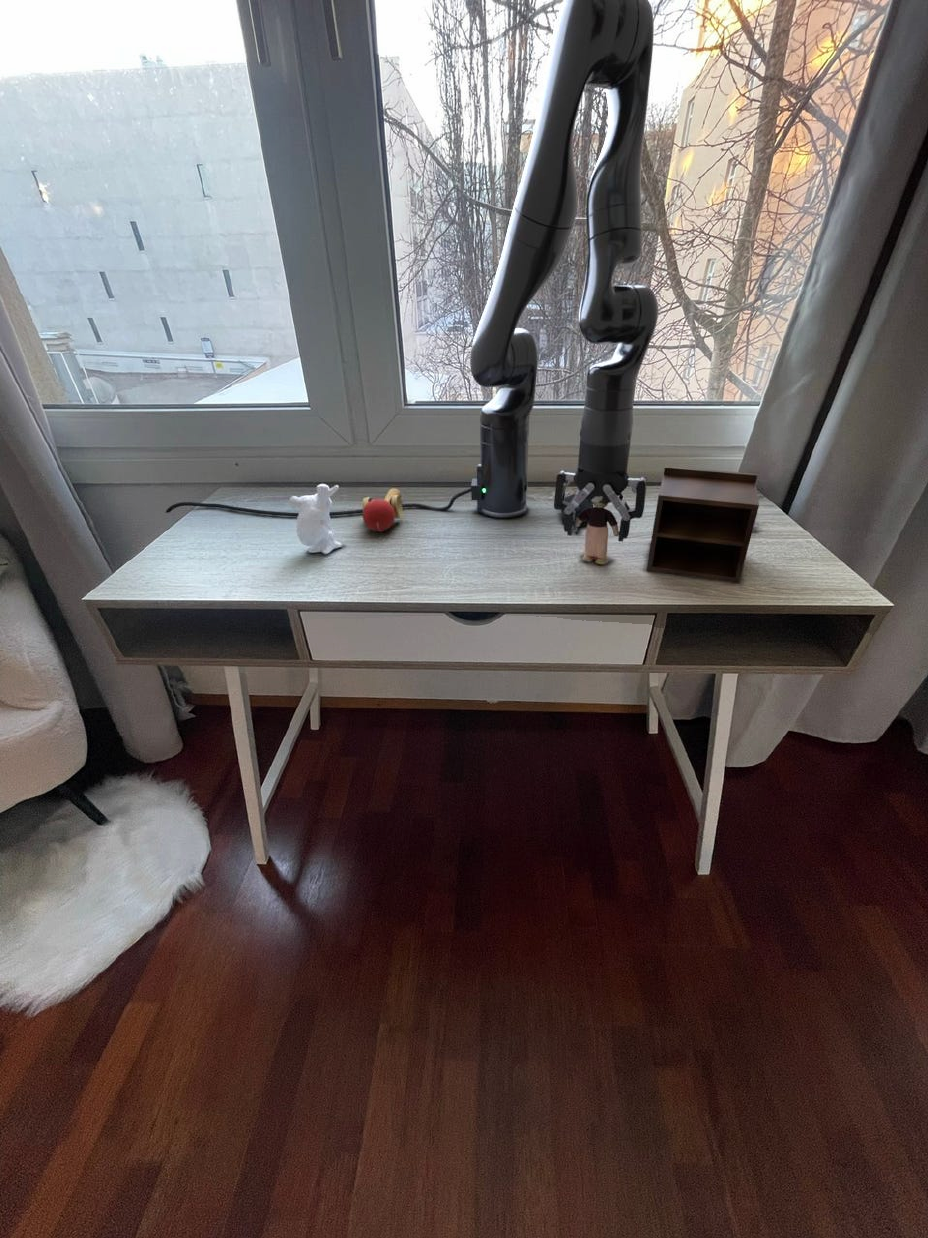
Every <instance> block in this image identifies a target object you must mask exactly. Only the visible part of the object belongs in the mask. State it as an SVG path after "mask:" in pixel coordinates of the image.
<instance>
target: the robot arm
mask: <svg viewBox="0 0 928 1238" xmlns="http://www.w3.org/2000/svg"><path fill="white" fill-rule="evenodd" d="M558 11H559V12H558V14H557V18H556V20H555V21H556V22H555V25H554V29H553V33H552V37H551V41H550V47H549V52H548V57H547V62H546V68H545V72H544V78H543V83H542V88H541V94H540V99H539V104H538V110H537V115H536V119H535V124H534V128H533V133H532V138H531V140H530V141H531V143H530V146H529V150H528V154H527V158H526V162H525V165H524V169H523V173H522V176H521V181H520V184H519V187H518V192H517V194H516V197H515V200H514V204H513V208H512V211H511V216H510V219H509V223H508V227H507V231H506V236H505V240H504V245H503V248H502V252H501V256H500V259H499V263H498V267H497V270H496V273H495V277H494V280H493V284H492V286H491V290H490V292H489V293H490V294H489V296H488V299H487V302H486V304H485V306H484V307H485V308H484V309H483V312H482V316H481V318H480V320H479V324H478V326H477V329H476V331H475V335H474V338H473V342H472V344H471V348H470V356H469V366H470V372H471V375H472V376H471V377H472V378H473V380H474V382H476V384H477V385H479V386H480V387H483V388H498V390H497V392H496V394H495V395H494V396H493V398H492V399H491V400H489V401H488V402H487V403H485V404H484V405H483V406H482V407H481V409H480V412H479V446H480V447H479V453H480V454H479V457H480V458H479V460H480V463H478V464H477V465H476V478H471V484H470V487H469V488H466V489H464V490H462V491H460V492H458V493H456V494H455V495H454V496H452V497H451V499H450V501H449V503H448V504H447V505H445V506H442V507H435V506H432V505H431V506H430V505H427V504H424V503H423V504H422V503H417V502H415V503H414V502H410V503H402V507H403V508H420V509H425V510H429V511H430V510H431V511H437V512H439V511H440V512H445V511H448V510H449V509H451V508H452V507H453V504H454V502H455V501H456V500H457V499H459V498H460V497H463V496H465V495H467V494H469V493H470V498H471V501H476V512H477V513H480V514H483V515H485V516H487V517H490V518H491V517H492V518H496V519H510V518H516V517H519V516H522V515H524V514H525V513H526V512H527V505H528V504H527V493H528V487H529V486H528V485H529V484H528V465H529V443H530V441H529V440H530V438H529V437H530V418H531V413H532V412H533V408H534V406H535V399H536V386H537V377H538V362H539V361H538V358H539V357H538V347H537V343H536V340H535V338H534V336H533V334H532V333H531V332H530V331H529V330H528V329H526V328H524V327H517V326H518V323H519V321H520V319H521V317H522V316H523V313H524V311H525V309H526V308H527V306H528V305H529V304H530V302H531V301H532V300H533V298H534V297H535V296H536V295H537V293H539V292H540V290H541V288H542V287H543V286H544V285H545V283H546V282H547V281H548V280H549V279H550V277H551V276H552V275H553V273H554V271H555V270H556V269H557V267H558V265H559V264H560V262H561V260H562V258H563V255H564V253H565V250H566V248H567V245H568V241H569V239H570V236H571V233H572V230H573V228H574V225H575V221H576V217H577V215H578V214H577V213H578V206H579V193H578V180H577V173H576V166H575V159H574V158H575V157H574V133H575V127H576V122H577V117H578V114H579V109H580V105H581V101H582V98H583V95H584V92H585V89H586V86H591V87H595V88H599V89H602V90H603V89H604V91H605V94H606V101H607V111H608V123H607V130H606V131H607V132H606V135H605V139H604V143H603V146H602V149H601V152H600V154H599V157H598V159H597V161H596V164H595V167H594V169H593V172H592V175H591V177H590V180H589V184H588V189H587V193H586V204H585V211H586V212H585V216H586V217H585V218H586V219H585V220H586V236H587V237H586V238H587V262H586V269H585V274H584V275H585V276H584V281H583V288H582V293H581V298H580V303H579V307H578V317H577V321H578V327H579V330H580V333H581V335H582V337H583V338H584V340H586V342H588V343H589V344H592V345H611V344H617V345H616V347H615V350H614V352H613V353H612V355H610V356H609V357H607V358H606V359H604V360H601V361H597V362H595V363H593V364H591V366H590V367H589V369H588V371H587V374H586V383H585V396H584V407H583V412H582V417H581V423H580V429H579V447H578V449H579V450H578V461H577V469H576V472H569V471H567V470H566V469H561V470H560V471H559V472H558V473H557V475H556V481H555V489H554V499H553V508H554V509H555V510H557V511H558V510H559V511H561V510H562V511H563V512H564V513H565V520H564V522H563V530H564V532H567V533H566V534H567V536H570V537H571V536H573V535H574V533H575V526H574V522H575V511H574V509H575V508H576V507H577V506H578V505H579V504H580V503H581V502H582V501H583V500H584V499H586V500H587V501H588V502H592V501H591V500H592V499H593V498H594V497H596V496H597V497H600V496H602V497H603V498H602V500H601V501H599V502H600V503H603V504H610V503H611V504H612V506H613V507H614V510H616V511H617V512H618V513H619V515H620V517H621V519H620V523H619V530H618V531H619V535H618V542H624V539H626V540H627V538H628V536H629V534H630V528H631V521H632V520H633V519H641V518H642V517H643V514H644V511H645V503H646V494H647V485H648V484H647V483H648V479H647V477H646V476H645V475H644V476H643V475H642V476H640V477H639V478H637V477H629V475H628V466H629V460H630V459H629V458H630V452H631V451H630V450H631V442H632V436H633V435H632V434H633V426H634V403H635V394H636V388H637V379H638V375H639V373H640V370H641V367H642V365H643V362H644V359H645V356H646V354H647V352H648V349H649V347H650V343H651V341H652V338H653V336H654V333H655V330H656V328H657V323H658V318H659V302H658V299H657V296H656V294H655V292H654V291H653V289H652V288H651V287H649V286H647V285H645V284H628V285H627V284H626V285H613V279H614V274H615V272H616V271H619V270H623V269H625V268H628V267H631V266H632V265H635V263H636V262H637V261H638V260H639V259H640V258H641V255H642V254H643V253H642V252H643V220H642V219H643V217H642V215H643V214H642V160H643V159H642V158H643V149H644V148H643V147H644V136H645V130H646V129H645V128H646V120H647V111H648V103H649V102H648V101H649V92H650V91H649V90H650V81H651V72H652V61H653V52H654V51H653V50H654V35H655V34H654V33H655V25H654V23H655V22H654V21H655V20H654V12H653V6H652V3H651V1H650V0H563V1H562V3H561V5H560V8H559V10H558ZM572 481H573V482H574V485H575V487H576V488H577V489H578V491H577V492H576V495H575V497H574V498H573V499H572V500H571V501H570V502H567V501H565V500H564V498H565V497H566V489H567V487H568V486H570V484H571V482H572ZM628 487H630V488H631V492H632V493H634V494H635V505H634V507H632V508H631V507H630V505H629V503H628V502H627V499H626V497H625V495H624V493H623V492H624V491H625V490H626V489H627V488H628ZM602 501H603V502H602ZM592 503H593V502H592ZM186 506H188V507H189V506H190V507H199V508H200V507H202V508H220V509H225V510H226V509H227V510H231V511H238V512H243V513H252V514H260V515H267V516H268V515H269V516H281V517H298V514H299V512H289V511H288V512H287V511H275V510H264V509H263V510H262V509H255V508H247V507H240V506H239V507H238V506H233V505H229V504H228V505H227V504H222V503H210V502H209V503H207V502H195V501H194V502H193V501H181V502H176V503H174V504H172V505H170V506H169V507H168V508H167V509H166V510H165V514H167V513H171V512H172V511H173V510H175V509H176V508H179V507H186ZM356 514H358V515H359V514H363V508H361V509H352V510H351V509H350V510H339V511H330V512H329V516H330V517H332V516H345V515H347V516H348V515H356Z"/></svg>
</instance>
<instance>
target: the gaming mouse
mask: <svg viewBox="0 0 928 1238" xmlns="http://www.w3.org/2000/svg"><path fill="white" fill-rule="evenodd" d="M576 494H577V493H576ZM576 494H575V493H572V494H571V495H568V496H565V498H564V500H565V501H567V502H570V501H571V500H572V499H573V498H574V497H575V495H576ZM590 507H594V504H593V503H592V502H588V501H587V500H586V499H584V500H583V501H582V502H581V503H580V504H579V505H578V506H577V507H576V508H575V509H574V511H575V521H576V519H577V517H578V516H577V515H578V514H579V513H580V512H582V511H583V510H585V509H587V508H590ZM560 514H561V516H560V517H561V521H562V522H563V523H564V520H565V513H564V512H563V511H562V510H560ZM588 523H589V520H587V521H582V522H581V523H580V525H579V526H578V527H576V526H575V525H574V533H575V534H576V535H577V534H579V533H578V530H579V527H583V526H587V525H588Z"/></svg>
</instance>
